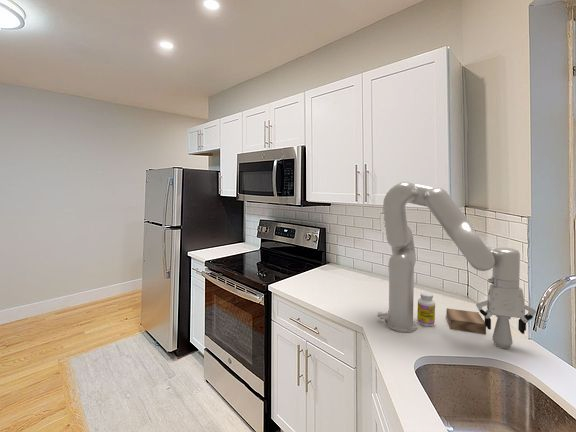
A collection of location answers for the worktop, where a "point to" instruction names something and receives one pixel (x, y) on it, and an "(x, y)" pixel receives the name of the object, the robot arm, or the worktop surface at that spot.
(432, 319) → the supplement bottle
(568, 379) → the worktop surface
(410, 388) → the worktop surface
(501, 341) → the salt shaker
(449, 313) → the walnut riser block
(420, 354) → the worktop surface
